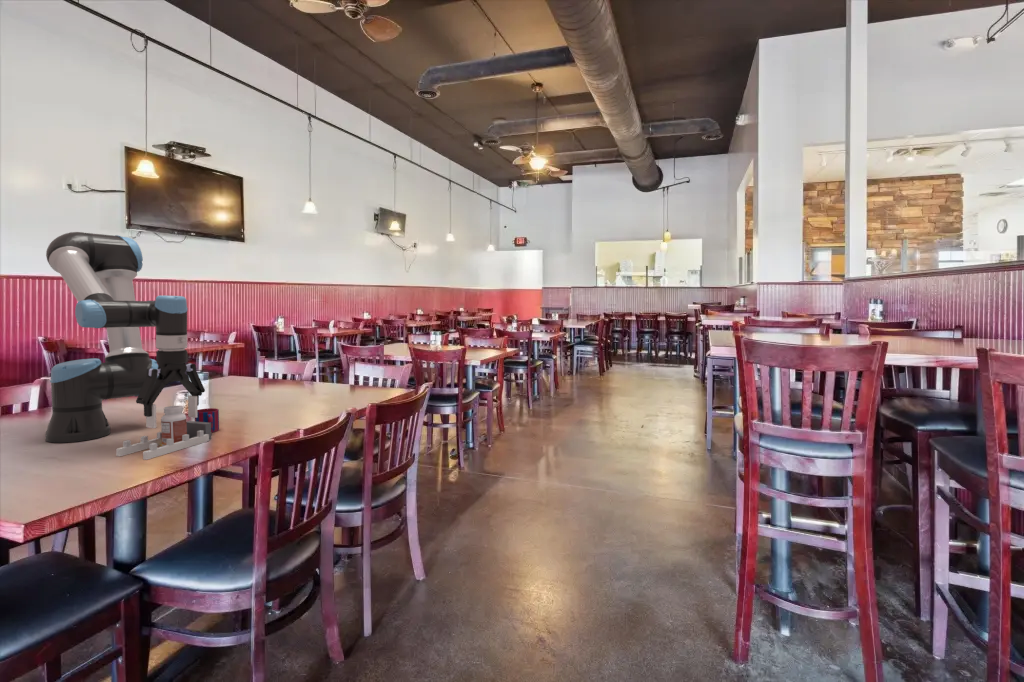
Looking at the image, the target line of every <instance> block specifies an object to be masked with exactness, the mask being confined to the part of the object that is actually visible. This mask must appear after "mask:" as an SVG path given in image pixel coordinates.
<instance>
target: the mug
mask: <svg viewBox="0 0 1024 682" xmlns="http://www.w3.org/2000/svg"><path fill="white" fill-rule="evenodd" d="M219 410H220V409H219V408H216V407H215V408H214V407H212V408H211V407H210V408H200V409H197V418H194V421H196V422H207V423H211V434H212V433H215V432H218V431H219V430H220V411H219Z"/></svg>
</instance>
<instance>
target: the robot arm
mask: <svg viewBox="0 0 1024 682" xmlns="http://www.w3.org/2000/svg"><path fill="white" fill-rule="evenodd" d="M45 256H46V261H47V263H48V265H49V266H50V268H51V269H52V270H53V271H54V272H56V273H58V274H59V275H60V276H61V277H62V279H63V281H64V282H65V283H66V285H67V287H68V289H69V290H70V292H71V293H72V295H73V296H74V298H75V299H76V301H77V303H76V305H75V308H74V311H75V312H74V315H75V319H76V322H77V324H78V325H79V326H80V327H81V328H85V329H86V328H94V329H102V328H106V334H107V341H108V342H107V343H108V347H109V353H107V355H106V356H105V357H104V362H102V361H101V359H100V358H82V359H75V360H69V361H64V362H60V363H57V364H55V365H54V366H53V367H51V371H50V380H49V382H50V386H51V388H50V389H51V410H52V411H51V412H52V413H51V417H50V420H49V423H48V426H47V427H46V431H45V441H46V442H47V443H62V444H63V443H75V442H83V441H90V440H95V439H100V438H102V437H105V436H108V435H109V434H111V425H110V423H109V421H108V419H107V417H106V414H105V412H104V410H103V400H112V399H120V398H121V399H122V398H129V397H137V398H136V400H135V403H136V404H140V405H142V406H143V416H144V417H145V424H146V425H145V428H150V429H156V428H157V404H155V401H156V400H157V398H158V397H159V396H160V394H161V393H162V391H163V390H164V388H165V387H166V386H167V385H168V384H169V383H174V382H179V383H180V384H181V385H182V386H183V387H184V389H185V390H186V391H187V392H188V393H189V394H190V395H188V396H187V417H188V418H192V419H195V418H197V410H198V406H199V404H200V399H199V398H200V397H199V396H202V395H203V393H205V391H206V390H205V389H206V388H205V387H204V385H203V383H202V380H201V379H200V375H199V374H198V371H197V367H196V363H187V362H188V356H189V355H188V350H187V348H188V309H189V308H188V304H187V301H188V300H187V298H186V297H185V296H183V295H164V294H163V295H157V296H156V297H155V299H154V300H136V296H135V295H136V294H135V290H134V282H133V281H134V279H135V278H136V277H137V276H138V273H139V272H140V271H142V268H143V262H144V261H143V258H144V257H143V252H142V250H141V247H140V245H139V244H138V243H137V241H135V239H133V238H131V237H127V236H121V235H118V234H116V235H109V234H103V233H102V234H100V233H92V232H91V233H90V232H82V231H71V232H66V233H63V234H61V235H59V236H57V237H56V238H54V239H53V240H52V241H51V242H50V243H49V244H48V247H47V249H46V252H45ZM152 327H153V328H155V348H156V349H158V350H157V351H156V352H155V354H156V356H155V358H156V359H152V358H150V354H149V352H147V351H146V350H145V349H143V345H142V338H141V331H140V328H152Z"/></svg>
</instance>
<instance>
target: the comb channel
mask: <svg viewBox="0 0 1024 682" xmlns="http://www.w3.org/2000/svg"><path fill="white" fill-rule="evenodd" d="M186 422H187V434H185V435H182V441H180V442H176V443H174V439H167V440H166V446H163V445H162V432H161V431H158V432H156V438H152V439H149V436H148V435H143V436H139V437H140V442H137V443H132V442H131V440H130V439H127V440H123V441H122V447H118V448H116V449H115V451H116V453H115V455H116V457H122V456H127V455H130V454H133V453H137V452H140V451H143V452H142V459H143V460H144V461H145V460H150V459H151V460H152V459H154V458H158V457H161V456H164V455H167V454H170V453H175V452H177V451H180V450H184V449H187V448H190V447H191V448H192V447H194V446H197V445H200V444H204V443H207V442H209V441H210V440H212V433H211V423H207V422H196V421H195V420H188V421H187V420H186Z"/></svg>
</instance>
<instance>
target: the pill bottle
mask: <svg viewBox="0 0 1024 682" xmlns="http://www.w3.org/2000/svg"><path fill="white" fill-rule="evenodd" d="M183 412H184V406H183V405H170V406H169V405H168V406H165V407H164V408H163V413H164V414H163V415H162V416H161V419H160V424H161V425H160V426H161V427H160V432H162V445H163V446H166V440H167V439H174V443H176V442H180V441H182V435H185V434H187V414H185V413H183Z"/></svg>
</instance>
